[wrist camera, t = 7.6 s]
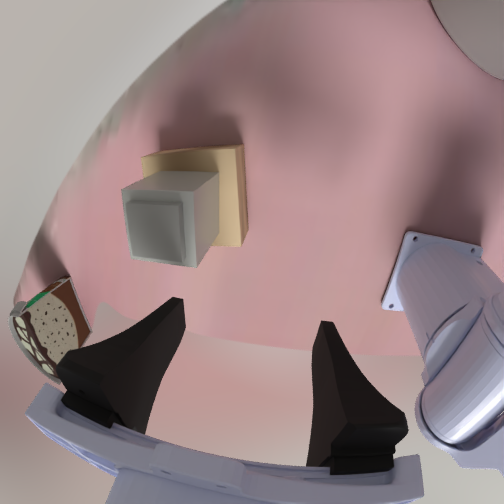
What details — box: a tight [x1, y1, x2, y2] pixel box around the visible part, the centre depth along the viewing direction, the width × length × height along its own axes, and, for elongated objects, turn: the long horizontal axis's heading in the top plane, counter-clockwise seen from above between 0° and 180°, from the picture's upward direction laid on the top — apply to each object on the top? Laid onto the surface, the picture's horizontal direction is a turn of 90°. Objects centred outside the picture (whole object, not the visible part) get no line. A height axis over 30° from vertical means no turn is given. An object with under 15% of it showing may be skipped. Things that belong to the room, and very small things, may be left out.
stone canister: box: [121, 171, 219, 268], centre depth 17 cm, size 4×4×6 cm
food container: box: [8, 276, 92, 384], centre depth 27 cm, size 12×6×10 cm, turn 0°
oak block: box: [141, 144, 248, 247], centre depth 21 cm, size 7×7×4 cm
